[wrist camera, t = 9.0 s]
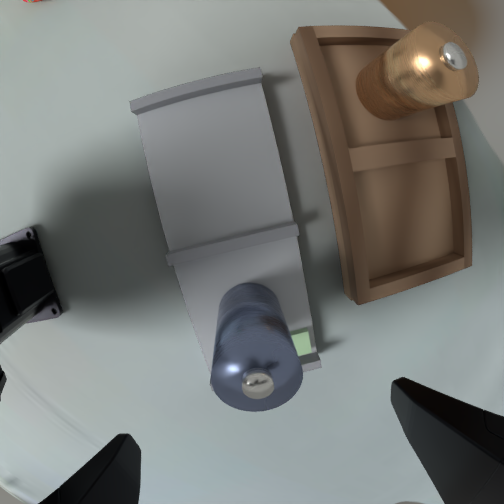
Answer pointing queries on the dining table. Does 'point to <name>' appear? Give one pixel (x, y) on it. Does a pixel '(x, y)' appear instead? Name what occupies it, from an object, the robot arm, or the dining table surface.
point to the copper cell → (418, 73)
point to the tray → (384, 170)
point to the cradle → (224, 200)
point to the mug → (32, 0)
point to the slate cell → (254, 351)
